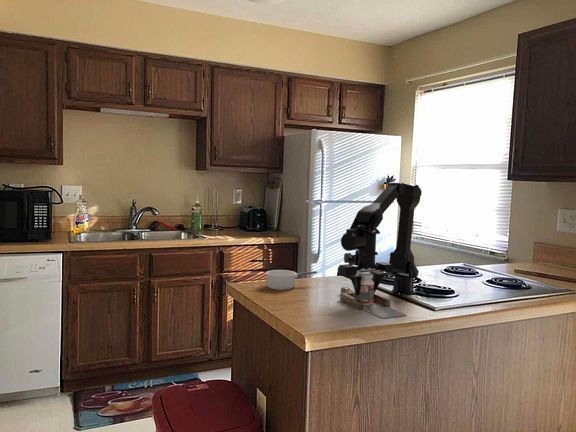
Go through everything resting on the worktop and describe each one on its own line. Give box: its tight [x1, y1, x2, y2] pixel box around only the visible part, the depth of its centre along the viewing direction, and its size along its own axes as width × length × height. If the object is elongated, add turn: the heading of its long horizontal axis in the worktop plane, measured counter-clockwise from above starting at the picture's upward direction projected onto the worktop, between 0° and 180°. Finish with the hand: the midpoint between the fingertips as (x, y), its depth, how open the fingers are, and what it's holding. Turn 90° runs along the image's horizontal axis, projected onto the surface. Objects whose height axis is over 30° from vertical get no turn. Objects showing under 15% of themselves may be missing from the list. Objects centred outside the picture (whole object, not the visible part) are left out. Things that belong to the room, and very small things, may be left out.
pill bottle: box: [356, 272, 374, 306], centre depth 160 cm, size 6×6×10 cm
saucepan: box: [265, 269, 318, 291], centre depth 181 cm, size 12×20×6 cm, turn 109°
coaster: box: [365, 306, 408, 320], centre depth 149 cm, size 9×9×1 cm
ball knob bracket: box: [339, 286, 392, 310], centre depth 164 cm, size 12×20×2 cm, turn 24°
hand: (364, 294), depth 160 cm, fingers closed on pill bottle, 6 cm apart
